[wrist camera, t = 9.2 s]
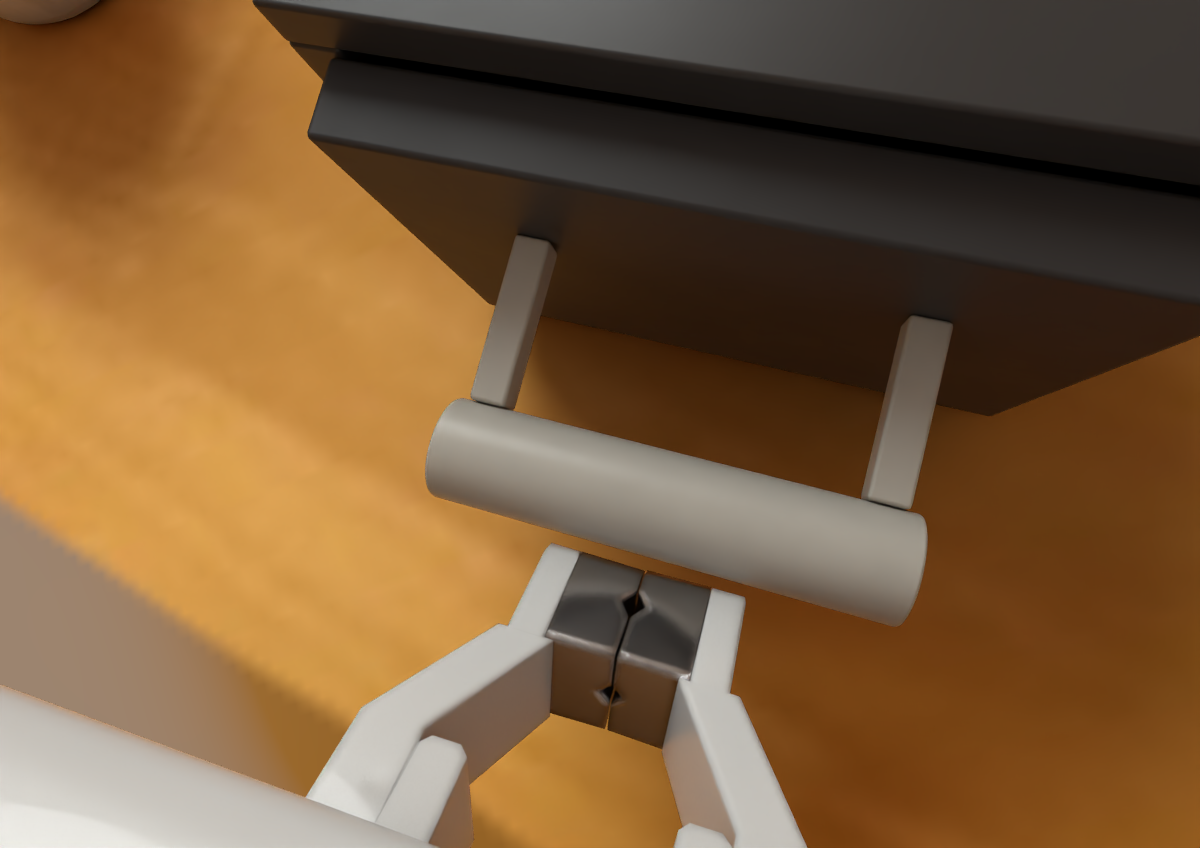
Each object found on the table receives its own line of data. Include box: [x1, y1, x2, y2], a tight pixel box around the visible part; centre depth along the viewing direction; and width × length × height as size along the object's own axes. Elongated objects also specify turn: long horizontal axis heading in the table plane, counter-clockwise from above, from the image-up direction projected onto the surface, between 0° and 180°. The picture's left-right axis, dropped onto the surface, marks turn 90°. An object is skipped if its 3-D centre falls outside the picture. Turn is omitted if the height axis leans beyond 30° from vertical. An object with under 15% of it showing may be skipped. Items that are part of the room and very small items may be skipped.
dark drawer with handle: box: [308, 58, 1200, 627], centre depth 13 cm, size 18×11×8 cm, turn 165°
